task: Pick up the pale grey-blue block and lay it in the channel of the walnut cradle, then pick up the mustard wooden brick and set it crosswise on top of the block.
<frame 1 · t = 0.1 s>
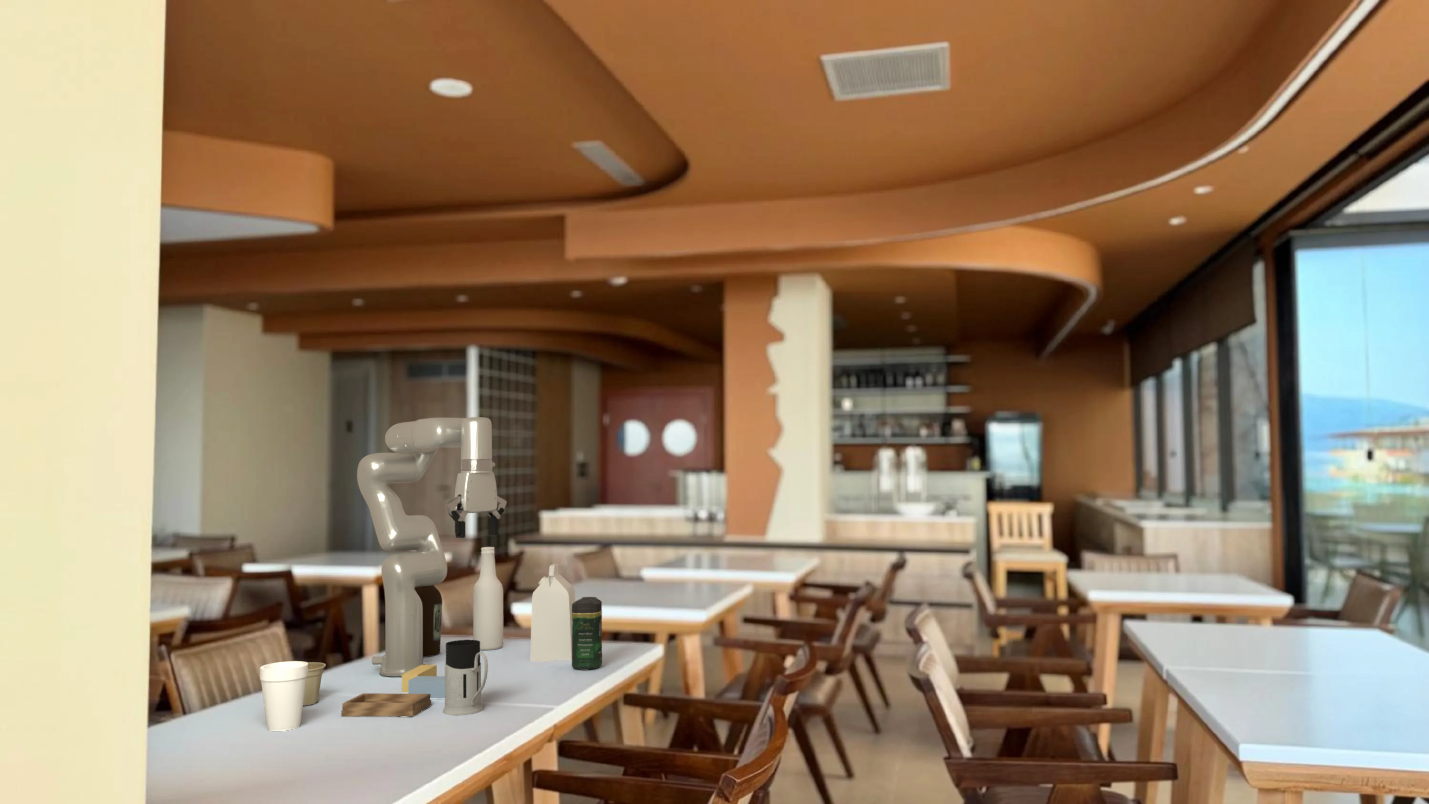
hand: (477, 536, 249), 37 cm above the table, tool pointing down, fingers open, 9 cm apart
coffee jar: (587, 667, 271), on the table
glass holder: (469, 713, 223), on the table
olive oil: (423, 654, 294), on the table
milk: (554, 657, 286), on the table
foam cup: (283, 728, 213), on the table
alcohol: (488, 648, 302), on the table
cradle: (387, 710, 226), on the table
pale grey-blue block: (437, 697, 239), on the table
mustard wooden brick: (419, 687, 250), on the table
flower pot: (304, 704, 235), on the table
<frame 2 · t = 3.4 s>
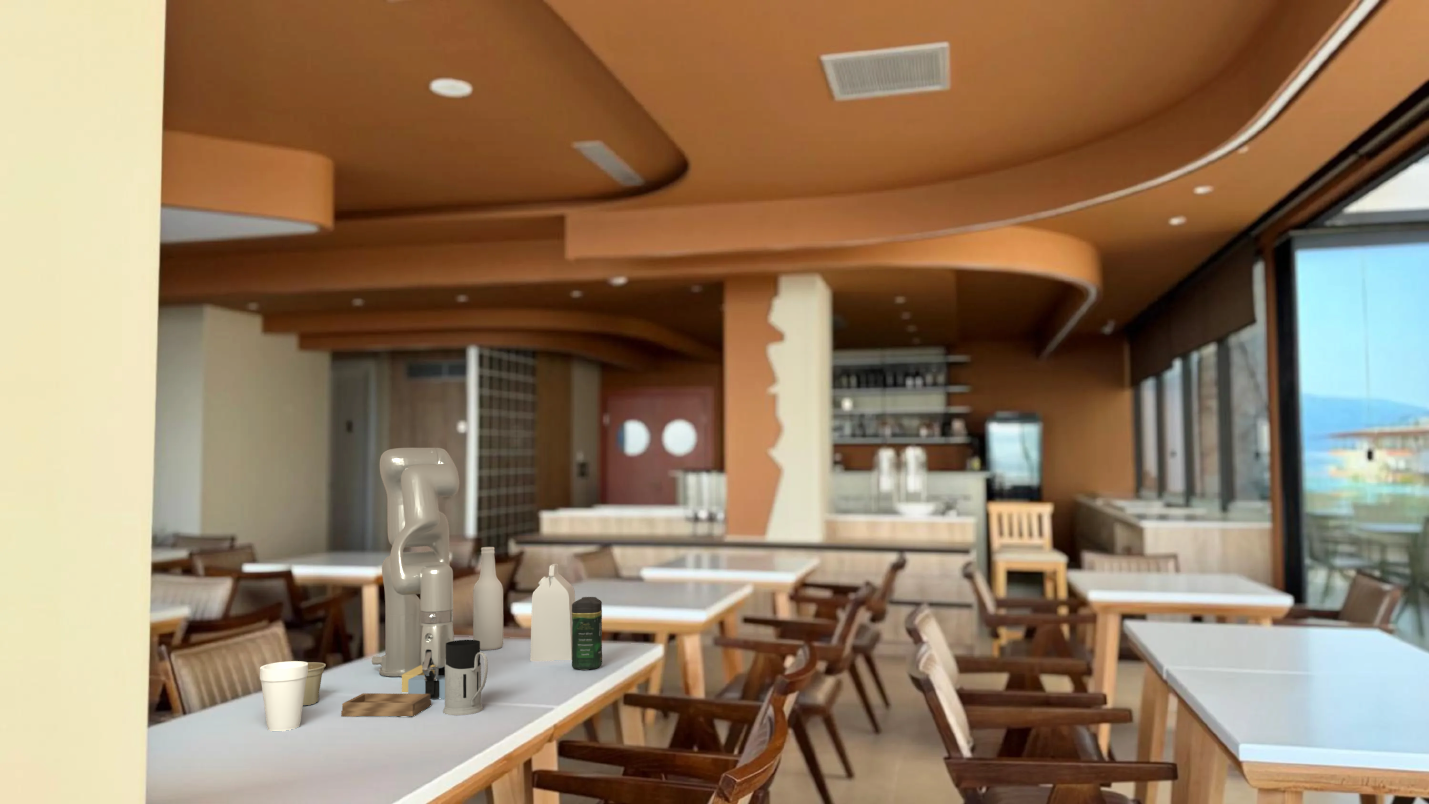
hand: (437, 694, 239), 1 cm above the table, tool pointing down, fingers closed on pale grey-blue block, 5 cm apart
pale grey-blue block: (436, 696, 239), on the table, touching gripper
everything else where it was.
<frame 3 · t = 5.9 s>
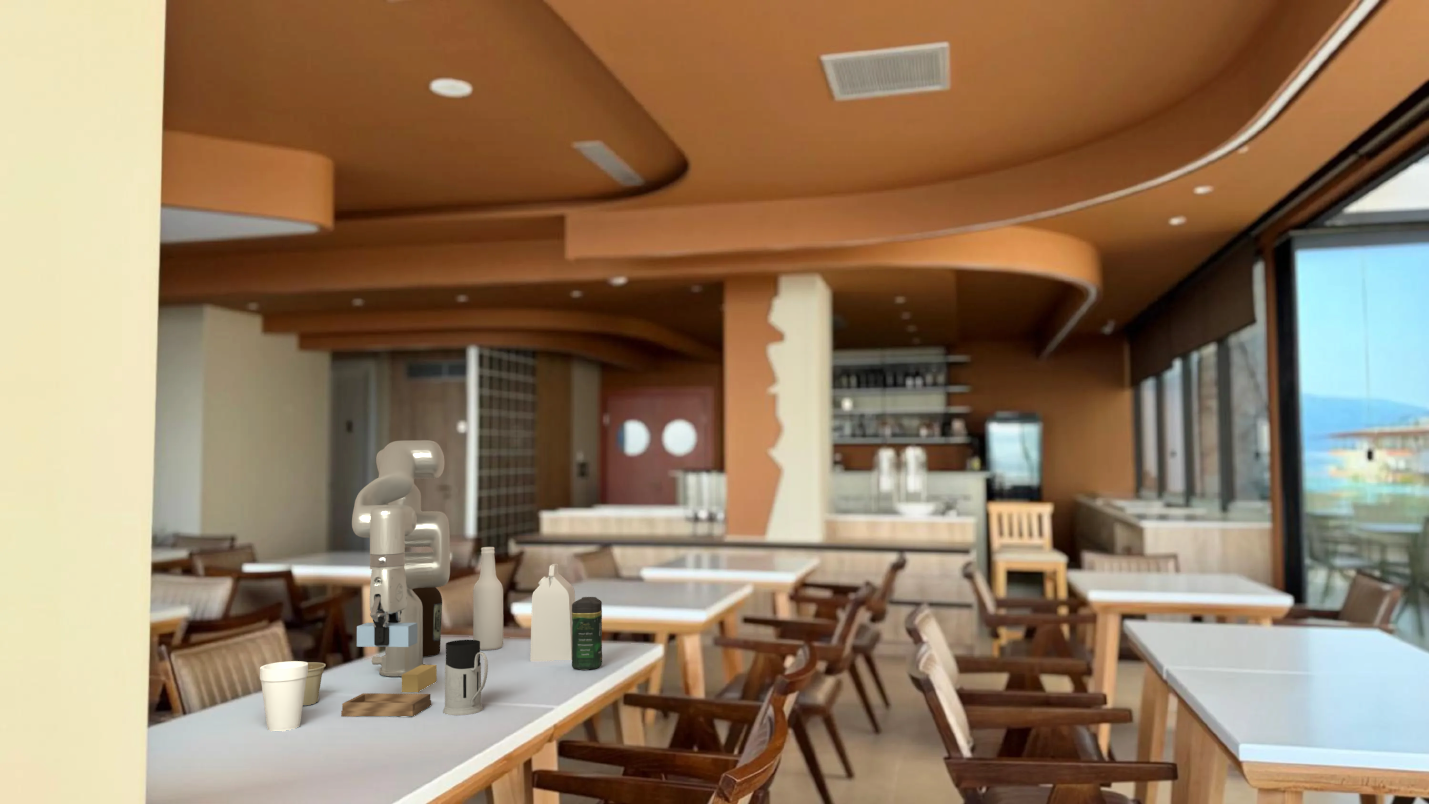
hand: (387, 641, 227), 15 cm above the table, tool pointing down, fingers closed on pale grey-blue block, 5 cm apart
pale grey-blue block: (387, 644, 227), point 15 cm above the table, touching gripper
everything else where it was.
when the fingers open (4 cm above the table, at t = 8.4 s): pale grey-blue block drops 2 cm, resting on cradle.
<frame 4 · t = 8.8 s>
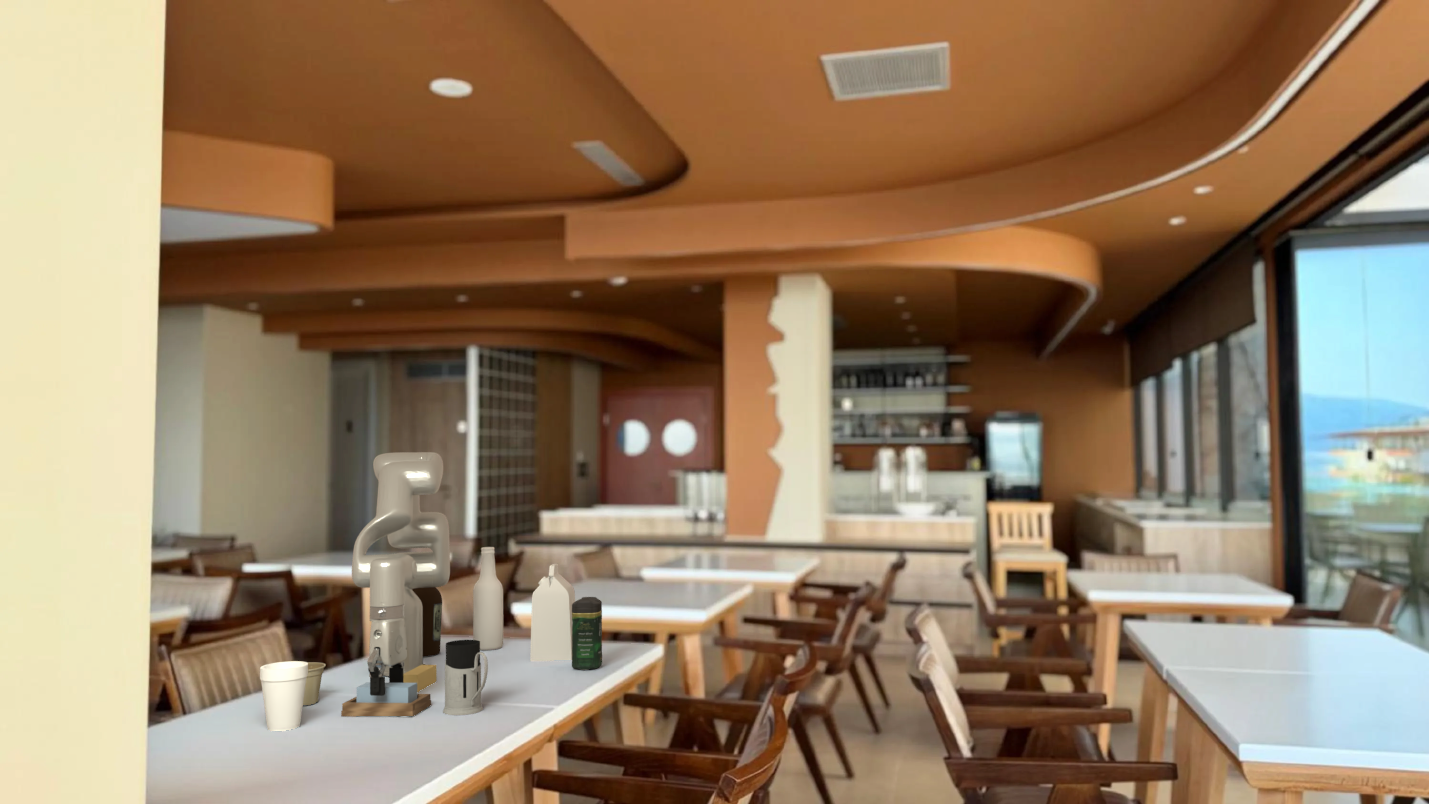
hand: (387, 690, 226), 5 cm above the table, tool pointing down, fingers open, 9 cm apart
pale grey-blue block: (387, 705, 226), point 1 cm above the table, touching cradle
everything else where it was.
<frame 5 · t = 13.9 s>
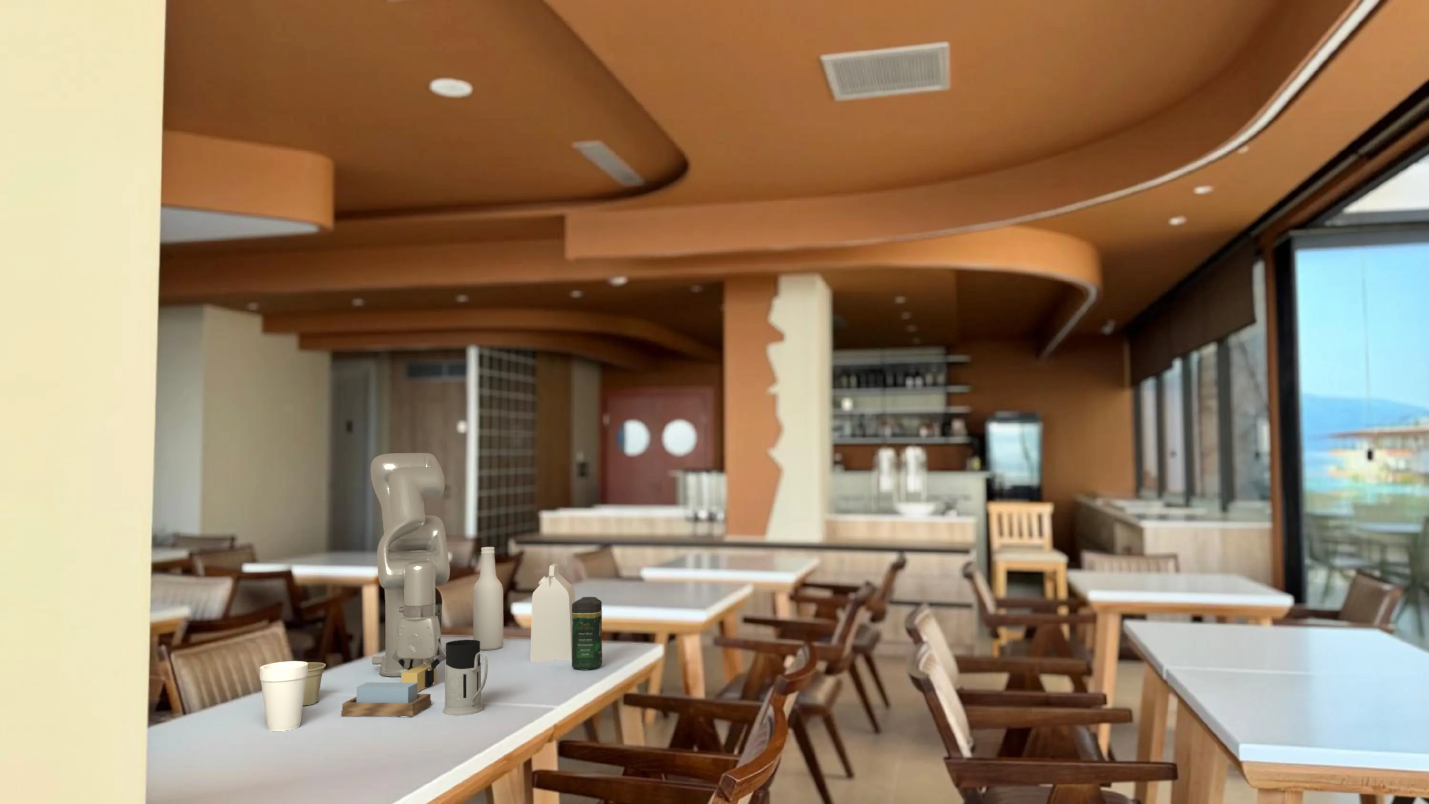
hand: (419, 685, 250), 0 cm above the table, tool pointing down, fingers closed on mustard wooden brick, 4 cm apart
mustard wooden brick: (419, 687, 250), on the table, touching gripper
everything else where it was.
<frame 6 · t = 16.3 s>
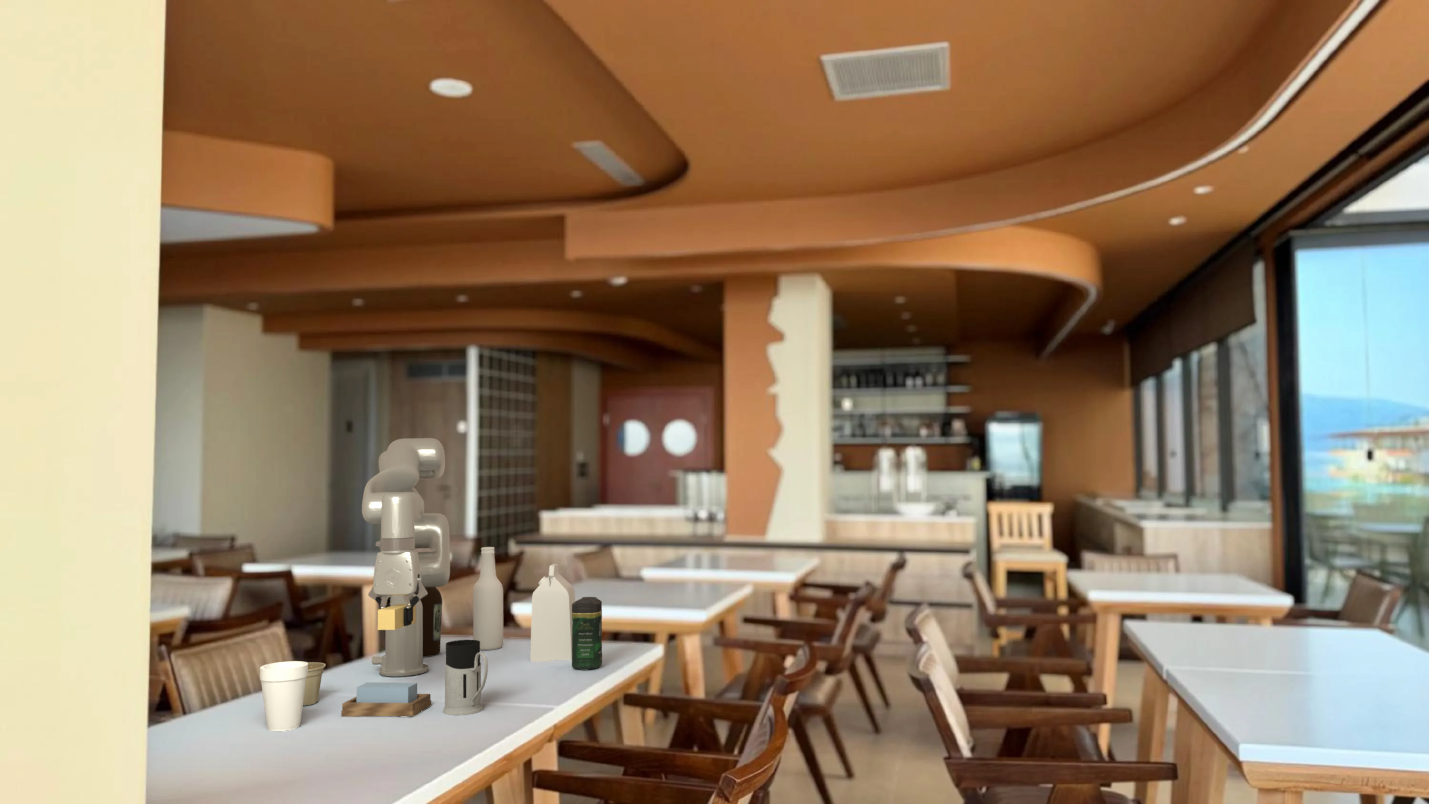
hand: (397, 624, 234), 18 cm above the table, tool pointing down, fingers closed on mustard wooden brick, 4 cm apart
mustard wooden brick: (397, 626, 234), point 18 cm above the table, touching gripper
everything else where it was.
when the fingers open (7 cm above the table, at t = 19.1 s): mustard wooden brick stays where it is, resting on pale grey-blue block.
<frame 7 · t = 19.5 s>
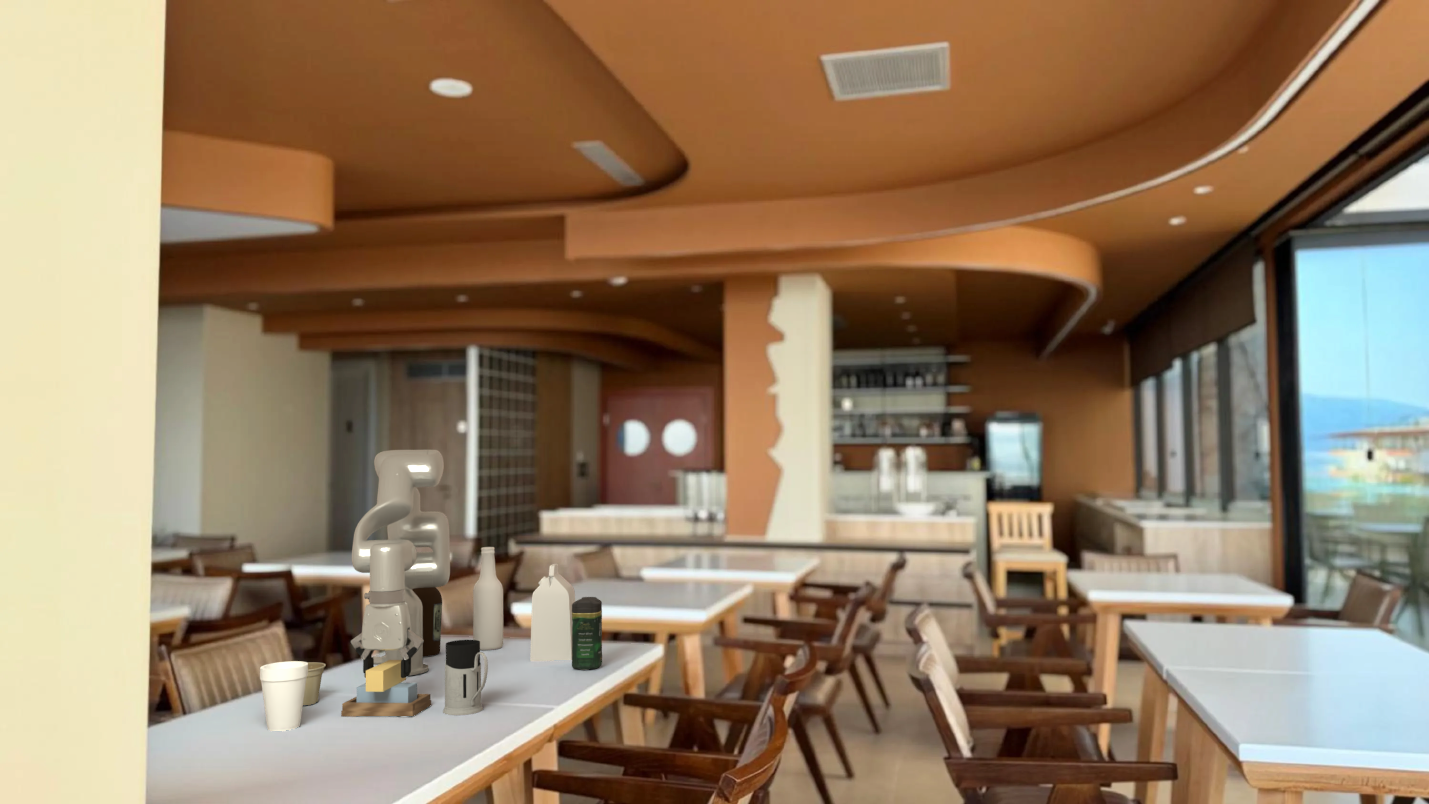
hand: (387, 676, 227), 8 cm above the table, tool pointing down, fingers open, 8 cm apart
pale grey-blue block: (387, 705, 226), point 1 cm above the table, touching cradle, mustard wooden brick
mustard wooden brick: (386, 685, 226), point 6 cm above the table, touching pale grey-blue block
everything else where it was.
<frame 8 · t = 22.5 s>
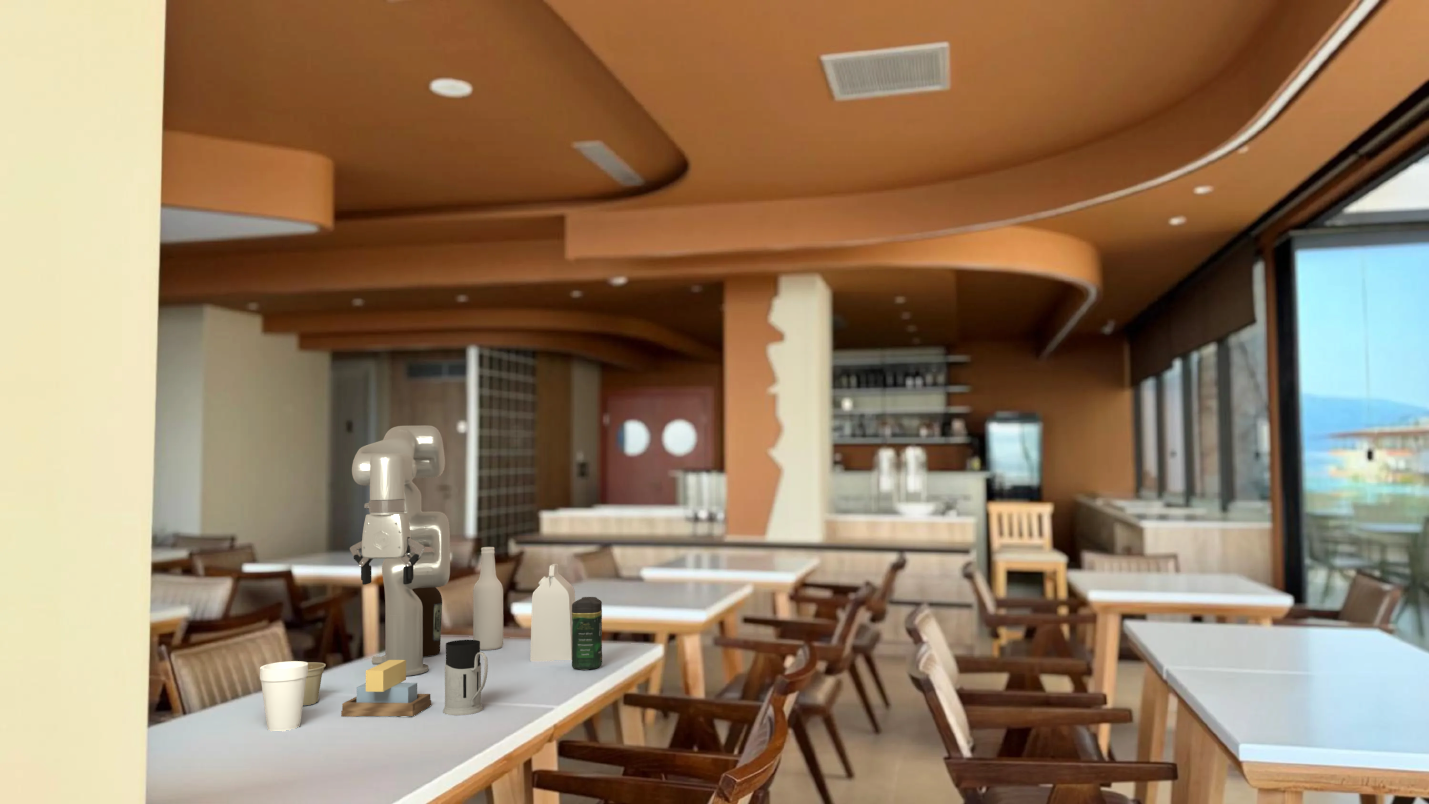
hand: (387, 583, 228), 28 cm above the table, tool pointing down, fingers open, 9 cm apart
nothing on the table moved.
at the end: pale grey-blue block 0.1 cm off-centre on the cradle, point 1.2 cm above the cradle's base; mustard wooden brick inside the target area on the pale grey-blue block (0.5 cm from its centre), point 4.5 cm above the pale grey-blue block's base; mustard wooden brick tilted 0° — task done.
